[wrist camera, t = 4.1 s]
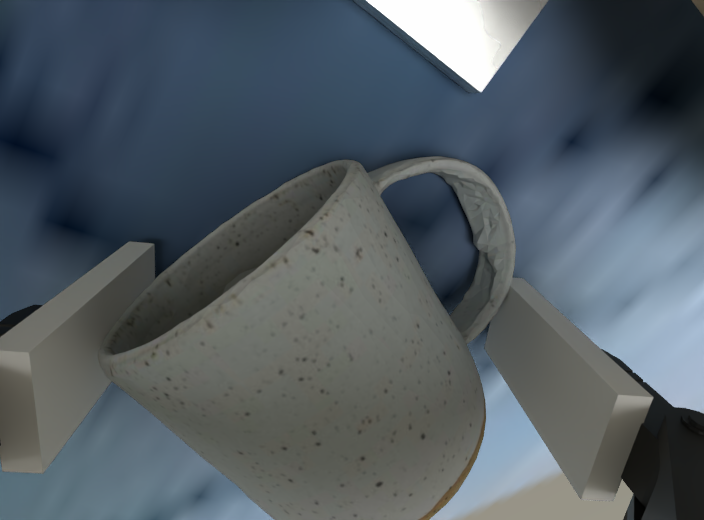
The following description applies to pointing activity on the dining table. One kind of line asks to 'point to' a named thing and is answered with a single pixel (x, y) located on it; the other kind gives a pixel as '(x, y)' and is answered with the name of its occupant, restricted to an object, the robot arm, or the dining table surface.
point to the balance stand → (459, 32)
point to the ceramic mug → (322, 347)
